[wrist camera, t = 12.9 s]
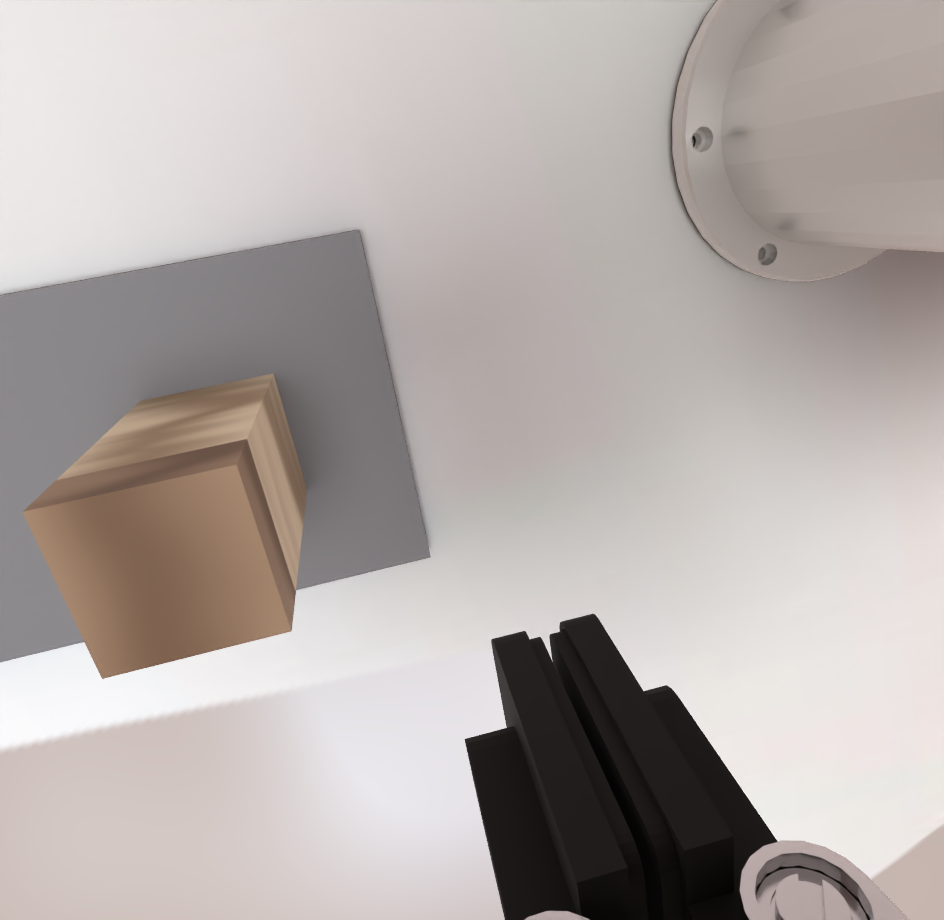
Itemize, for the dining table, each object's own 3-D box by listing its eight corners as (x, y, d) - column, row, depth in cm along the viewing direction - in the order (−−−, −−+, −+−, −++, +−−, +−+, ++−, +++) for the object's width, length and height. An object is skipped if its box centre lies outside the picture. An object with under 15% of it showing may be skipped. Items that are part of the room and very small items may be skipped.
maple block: (273, 373, 25) (236, 464, 16) (307, 489, 27) (291, 630, 18) (140, 400, 25) (22, 512, 15) (183, 517, 26) (102, 678, 17)
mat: (358, 229, 25) (359, 230, 24) (427, 546, 30) (430, 557, 29) (-278, 345, 22) (-305, 351, 21) (-81, 669, 28) (-95, 685, 27)
